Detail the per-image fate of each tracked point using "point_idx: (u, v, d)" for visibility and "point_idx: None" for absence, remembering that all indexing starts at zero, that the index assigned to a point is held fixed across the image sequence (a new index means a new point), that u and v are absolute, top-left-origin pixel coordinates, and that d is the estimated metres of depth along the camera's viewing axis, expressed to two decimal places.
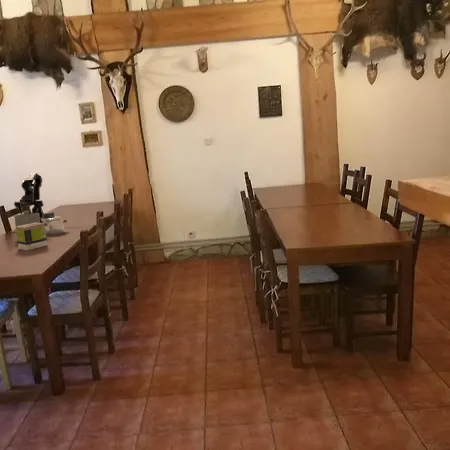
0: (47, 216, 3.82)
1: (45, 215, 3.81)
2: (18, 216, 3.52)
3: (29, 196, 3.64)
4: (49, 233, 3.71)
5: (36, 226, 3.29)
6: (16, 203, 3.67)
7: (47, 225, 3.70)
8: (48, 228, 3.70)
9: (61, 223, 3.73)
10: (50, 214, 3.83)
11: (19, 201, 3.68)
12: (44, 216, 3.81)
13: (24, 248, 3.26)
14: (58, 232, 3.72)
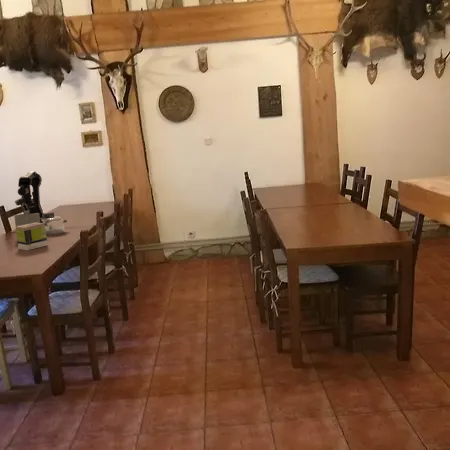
0: (47, 216, 3.82)
1: (45, 215, 3.81)
2: (18, 216, 3.52)
3: (16, 202, 3.69)
4: (49, 233, 3.71)
5: (36, 226, 3.29)
6: (20, 204, 3.80)
7: (47, 225, 3.70)
8: (48, 228, 3.70)
9: (61, 223, 3.73)
10: (50, 214, 3.83)
11: None
12: (44, 216, 3.81)
13: (24, 248, 3.26)
14: (58, 232, 3.72)
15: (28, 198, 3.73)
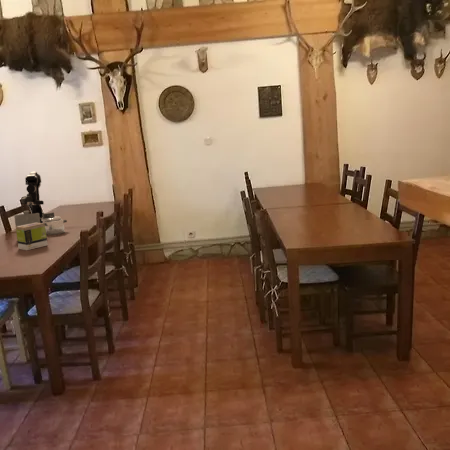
0: (47, 216, 3.82)
1: (45, 215, 3.81)
2: (18, 216, 3.52)
3: (24, 200, 3.71)
4: (49, 233, 3.71)
5: (36, 226, 3.29)
6: (22, 202, 3.81)
7: (47, 225, 3.70)
8: (48, 228, 3.70)
9: (61, 223, 3.73)
10: (50, 214, 3.83)
11: None
12: (44, 216, 3.81)
13: (24, 248, 3.26)
14: (58, 232, 3.72)
15: (34, 196, 3.76)
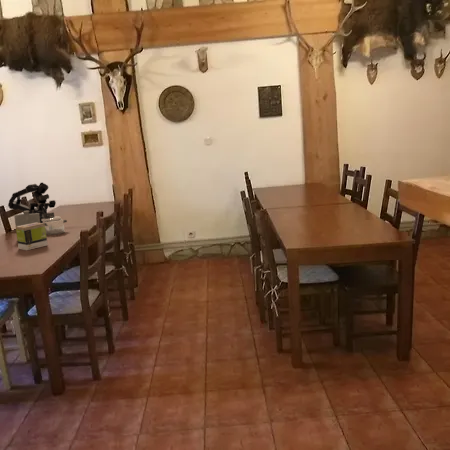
0: (47, 216, 3.82)
1: (45, 215, 3.81)
2: (18, 216, 3.52)
3: (46, 195, 3.88)
4: (49, 233, 3.71)
5: (36, 226, 3.29)
6: (33, 204, 3.84)
7: (47, 225, 3.70)
8: (48, 228, 3.70)
9: (61, 223, 3.73)
10: (50, 214, 3.83)
11: None
12: (44, 216, 3.81)
13: (24, 248, 3.26)
14: (58, 232, 3.72)
15: None
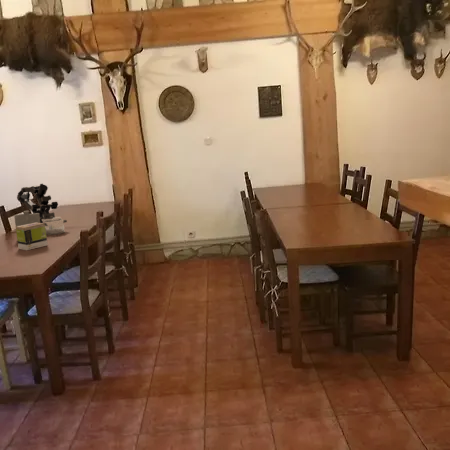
0: (47, 216, 3.81)
1: (45, 215, 3.80)
2: (18, 216, 3.52)
3: (48, 197, 3.84)
4: (49, 233, 3.71)
5: (36, 226, 3.29)
6: (35, 205, 3.80)
7: (47, 225, 3.70)
8: (48, 228, 3.70)
9: (61, 223, 3.73)
10: (50, 214, 3.83)
11: (36, 204, 3.82)
12: (44, 216, 3.80)
13: (24, 248, 3.26)
14: (58, 232, 3.72)
15: None
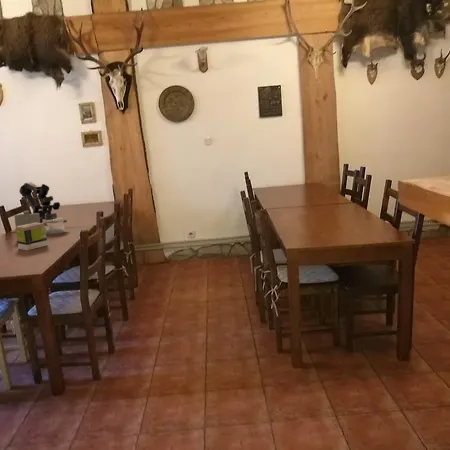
0: (49, 217, 3.78)
1: (47, 216, 3.77)
2: (18, 216, 3.52)
3: (50, 197, 3.80)
4: (49, 233, 3.71)
5: (36, 226, 3.29)
6: (36, 206, 3.77)
7: (47, 225, 3.70)
8: (48, 228, 3.70)
9: (61, 223, 3.73)
10: (52, 215, 3.79)
11: None
12: (46, 217, 3.77)
13: (24, 248, 3.26)
14: (58, 232, 3.72)
15: None
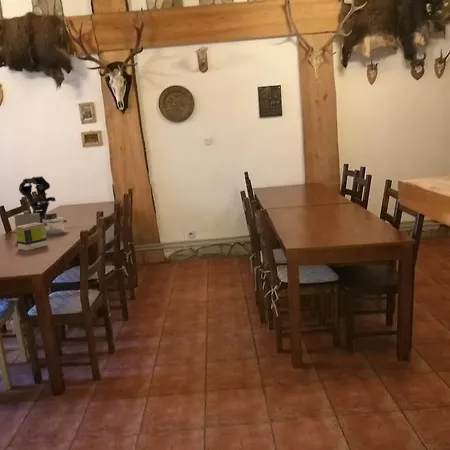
0: (49, 217, 3.78)
1: (47, 216, 3.77)
2: (18, 216, 3.52)
3: (37, 198, 3.80)
4: (49, 233, 3.71)
5: (36, 226, 3.29)
6: (32, 204, 3.88)
7: (47, 225, 3.70)
8: (48, 228, 3.70)
9: (61, 223, 3.73)
10: (52, 215, 3.79)
11: (34, 202, 3.88)
12: (46, 217, 3.77)
13: (24, 248, 3.26)
14: (58, 232, 3.72)
15: (45, 195, 3.88)
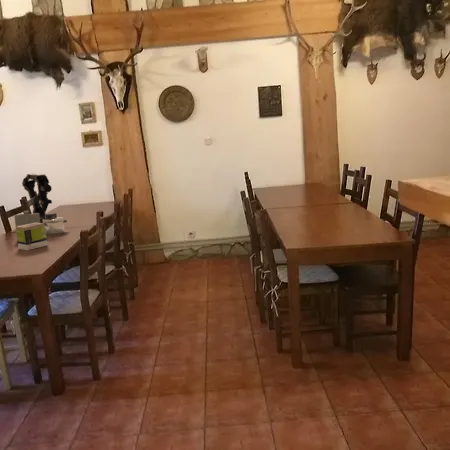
0: (49, 217, 3.78)
1: (47, 216, 3.77)
2: (18, 216, 3.52)
3: (33, 200, 3.80)
4: (49, 233, 3.71)
5: (36, 226, 3.29)
6: None
7: (47, 225, 3.70)
8: (48, 228, 3.70)
9: (61, 223, 3.73)
10: (52, 215, 3.79)
11: None
12: (46, 217, 3.77)
13: (24, 248, 3.26)
14: (58, 232, 3.72)
15: (44, 195, 3.84)
